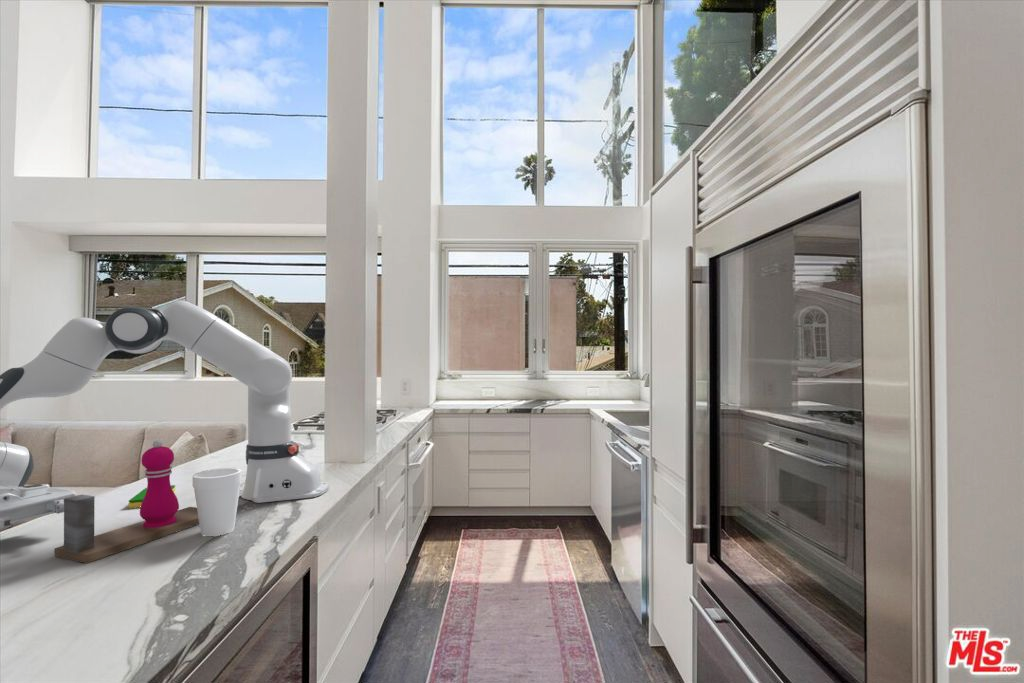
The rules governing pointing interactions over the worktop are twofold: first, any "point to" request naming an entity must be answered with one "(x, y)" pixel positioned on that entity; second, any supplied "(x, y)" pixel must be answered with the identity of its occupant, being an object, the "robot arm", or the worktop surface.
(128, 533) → the strip
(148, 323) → the robot arm
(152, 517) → the pepper mill
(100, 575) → the worktop surface
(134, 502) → the dish sponge
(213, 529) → the foam cup
